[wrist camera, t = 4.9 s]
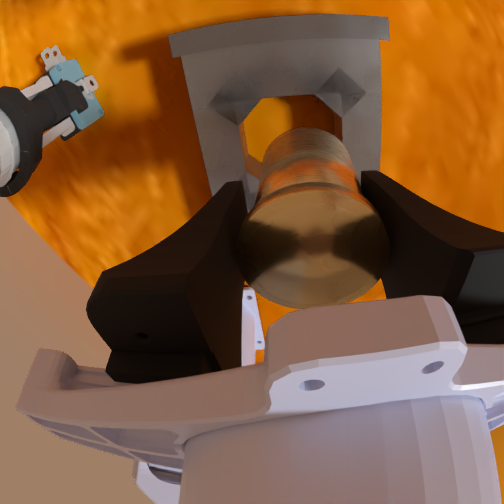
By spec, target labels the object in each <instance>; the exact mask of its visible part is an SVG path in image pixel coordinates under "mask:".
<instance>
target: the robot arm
mask: <svg viewBox="0 0 504 504" xmlns="http://www.w3.org/2000/svg"><path fill="white" fill-rule="evenodd" d="M361 188H362V191H363V194H364V197H365V198H366V199H367V200H368V201H369V202H370V203H371V204H372V205H373V206H374V207H375V209H376V210H377V211H378V213H379V215H380V217H381V218H382V221H383V224H384V226H385V229H386V232H387V235H388V238H389V244H390V256H389V261H388V264H387V267H386V269H385V271H384V273H383V275H382V276H381V279H382V283H383V286H384V289H385V294H386V298H387V299H385V300H376V301H367V302H358V303H348V304H338V305H327V306H316V307H310V308H306V309H302V310H298V311H294V312H290V313H288V314H286V315H284V316H283V317H282V318H280V319H279V320H278V321H276V322H275V323H273V324H272V325H271V326H269V328H268V331H267V335H266V338H265V341H264V336H263V331H262V326H261V321H260V316H259V311H258V306H257V301H256V296H255V291H254V289H252V288H251V287H244V282H245V279H244V278H243V276H242V274H241V272H240V270H239V267H238V264H237V259H236V249H237V242H238V238H239V233H240V230H241V226H242V223H243V221H244V219H245V217H246V216H247V214H248V210H247V204H246V199H245V193H244V187H243V182H242V180H239V181H231V182H226V183H225V184H224V185H223V186H222V187H221V188H220V189H219V190H218V192H217V193H216V194H215V195H214V196H213V197H212V198H211V199H210V200H209V201H208V202H207V203H206V205H205V206H204V207H203V208H202V209H200V210H199V211H198V212H197V213H196V214H195V215H194V216H193V217H192V218H191V219H190V220H189V221H188V222H187V223H185V224H184V225H183V226H182V227H181V228H179V229H178V230H177V231H175V232H174V233H173V234H171V235H170V236H169V237H167V238H166V239H164V240H163V241H161V242H160V243H158V244H157V245H155V246H154V247H152V248H150V249H148V250H147V251H145V252H143V253H141V254H140V255H138V256H136V257H134V258H132V259H130V260H128V261H126V262H124V263H121V264H119V265H117V266H114V267H112V268H110V269H108V270H105V271H103V272H102V273H101V275H100V277H99V279H98V281H97V283H96V285H95V287H94V289H93V292H92V294H91V296H90V298H89V300H88V302H87V308H86V311H87V316H88V318H89V320H90V322H91V324H92V325H93V327H94V328H95V329H96V331H97V332H98V333H99V335H100V336H101V337H102V338H103V340H104V341H105V342H106V344H107V345H108V346H109V347H110V349H111V350H112V352H111V354H110V357H109V361H108V363H107V366H106V369H104V368H95V367H86V366H78V365H77V364H76V363H75V361H74V360H73V359H72V358H71V357H70V356H69V355H68V354H66V353H64V352H61V351H57V350H50V349H42V348H40V349H38V351H37V353H36V356H35V358H34V361H33V363H32V365H31V368H30V370H29V373H28V375H27V378H26V380H25V383H24V385H23V388H22V391H21V394H20V396H19V399H18V402H17V405H16V409H17V410H18V411H19V412H21V413H22V414H24V415H25V416H26V417H28V418H29V419H31V420H32V421H34V422H35V423H37V424H38V425H40V426H41V427H43V428H44V429H46V430H47V431H49V432H51V433H52V434H54V435H55V436H57V437H59V438H61V439H64V440H67V441H70V442H74V443H77V444H81V445H83V446H87V447H90V448H93V449H97V450H100V451H103V452H107V453H111V454H114V455H118V456H121V457H126V458H129V459H133V460H134V465H133V471H132V476H133V477H134V478H135V484H136V486H137V487H138V488H139V489H140V490H141V491H142V492H143V493H144V494H145V495H146V496H147V497H149V498H150V499H151V500H152V501H153V502H154V503H155V504H502V503H501V493H500V485H499V478H498V472H497V466H496V460H495V455H494V449H493V445H492V440H491V435H490V431H491V430H493V429H495V428H497V427H499V426H501V425H503V424H504V232H500V231H496V230H493V229H490V228H487V227H484V226H481V225H478V224H475V223H473V222H470V221H468V220H465V219H463V218H460V217H458V216H456V215H453V214H451V213H449V212H447V211H445V210H443V209H441V208H439V207H437V206H435V205H433V204H432V203H430V202H428V201H426V200H425V199H423V198H421V197H419V196H418V195H416V194H414V193H413V192H411V191H410V190H408V189H406V188H405V187H403V186H402V185H400V184H399V183H397V182H396V181H394V180H392V179H391V178H389V177H388V176H386V175H384V174H383V173H381V172H379V171H377V170H368V171H361ZM264 348H265V354H264V362H261V363H256V364H255V353H256V350H262V349H264ZM180 473H181V474H180Z"/></svg>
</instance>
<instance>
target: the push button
mask: <svg viewBox="0 0 504 504" xmlns="http://www.w3.org/2000/svg"><path fill="white" fill-rule="evenodd" d="M54 51H56V52H57V55H56V56H53V52H54ZM46 53H48V54H49V58H48V59H46V58H45V55H46ZM41 57H42V59H43V61H44V63H45V65H46V67H45V69H46V71H47V72H46V73H45V74H44V75H43V76H42V77H40V78H39V79H38V80H37V81H36V82H35V83H34V85H32V86H30V87H27V88H25V89H23V90H21V91H20V90H19V89H18V88H13V87H7V86H3V87H1V88H0V197H8V196H12V195H14V194H16V193H17V192H19V191H20V190H21V189H22V188H23V187H24V186H25V185H26V183H27V182H28V180H29V179H30V176H31V174H32V173H33V172H34V171H35V169H36V167H37V166H38V164H39V162H40V161H41V159H42V149H43V148H44V147H45V146H46V145H48V144H49V143H50V142H52V141H53V140H54V139H56V138H57V137H58V136H61V138H62V139H63V140H64V141H66V140H68V139H69V138H71V137H72V136H74V135H75V134H77V133H78V132H80V131H81V130H83V129H85V128H86V127H88V126H89V125H91V124H92V123H93V122H95V121H96V120H98V119H99V118H101V117H102V116H103V115H104V111H103V109H102V107H101V106H100V104H99V102H98V100H97V98H96V97H95V95H94V93H93V91H94V90H96V89H98V84H97V82H96V80H95V78H94V76H92V75H90V76H87V77H85V75H84V73H83V71H82V69H81V67H80V65H79V63H78V62H77V60H75V59H72V60H68V61H67V60H66V58H65V56H63V57H62V55H61V53H60V50H59V48H58V46H57V45H55V46H54V47H53V48H52V49H50V48H49V47H47V48H46V49H45V50H44V51H43V52H41ZM90 80H91V81H92V82H93V84H94V86H92V85H91V84H90ZM33 98H34V99H33ZM31 99H33V100H32V101H29V100H31ZM53 126H55V127H53ZM51 127H53V128H52V129H50V128H51ZM47 129H50V130H49V131H47V132H46V133H45V134H43V132H44V131H46V130H47ZM18 168H19V171H16V170H17V169H18Z"/></svg>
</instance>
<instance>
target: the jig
mask: <svg viewBox="0 0 504 504" xmlns="http://www.w3.org/2000/svg"><path fill="white" fill-rule="evenodd" d="M168 38H169V43H170V48H171V53H172V57H173V58H175V57H180V56H181V60H182V64H183V69H184V74H185V78H186V83H187V88H188V92H189V97H190V102H191V106H192V111H193V115H194V120H195V124H196V129H197V133H198V138H199V142H200V146H201V151H202V155H203V159H204V164H205V168H206V172H207V176H208V181H209V185H210V189H211V193H212V197H213V196H214V195H215V194H216V193H217V192H218V190H219V189H220V188H221V187H222V186H223V185H224V184H225V183H226V182H231V181H239V180H242V182H243V187H244V193H245V199H246V204H247V210H248V213H249V211H250V210H251V209H252V208H253V207H254V206H255V202H256V196H257V191H258V185H259V180H260V174H261V169H262V163H261V162H259V161H258V160H256V159H255V158H253V157H252V156H250V155H249V154H248V150H247V144H246V137H245V131H244V125H243V121H244V119H245V118H246V117H247V116H248V114H249V113H250V112H251V111H252V110H253V108H254V107H255V106H256V105H257V103H258V102H259V101H260V100H261V99H262V98H270V97H281V96H293V95H307V94H314V95H316V96H317V97H318V98H319V99H320V100H322V101H323V102H324V103H325V104H326V105H328V106H329V107H330V108H331V109H332V110H333V118H334V136H335V137H336V138H338V139H339V140H340V141H341V142H342V144H343V145H344V146H345V148H346V149H347V151H348V154H349V156H350V159H351V161H352V164H353V167H354V169H355V172H356V175H357V177H358V180H359V183H360V186H361V171H368V170H377V171H379V170H380V152H381V117H382V93H381V59H380V41H379V40H389V41H390V35H389V22H388V17H379V16H366V15H340V14H317V15H292V16H278V17H267V18H257V19H249V20H242V21H235V22H228V23H222V24H217V25H211V26H206V27H201V28H196V29H192V30H187V31H183V32H179V33H175V34H171V35H168Z"/></svg>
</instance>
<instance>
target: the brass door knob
mask: <svg viewBox="0 0 504 504" xmlns="http://www.w3.org/2000/svg"><path fill="white" fill-rule="evenodd" d="M389 256H390V244H389V238H388V235H387V232H386V229H385V226H384V224H383V221H382V218H381V217H380V215H379V213H378V211H377V210H376V209H375V207H374V206H373V205H372V204H371V203H370V202H369V201H368V200H367V199H366V198H365V197H364V194H363V191H362V188H361V186H360V183H359V180H358V177H357V175H356V172H355V169H354V167H353V164H352V161H351V159H350V156H349V154H348V151H347V149H346V148H345V146H344V145H343V144H342V142H341V141H340V140H339V139H338V138H336V137H335V136H334V135H332V134H331V133H329V132H327V131H324V130H322V129H318V128H312V127H301V128H295V129H292V130H289V131H287V132H284V133H283V134H281V135H279V136H278V137H277V138H276V139H274V141H273V142H272V143H271V144H270V145H269V147H268V148H267V150H266V152H265V155H264V158H263V163H262V169H261V174H260V180H259V185H258V191H257V196H256V202H255V206H254V207H253V208H252V209H251V210H250V211H249V213H248V214H247V216H246V217H245V219H244V221H243V223H242V226H241V230H240V233H239V238H238V242H237V249H236V259H237V264H238V267H239V270H240V272H241V274H242V276H243V278H244V279H245V281H246V282H247V283H248V284H249V286H250V287H251V288H252V289H254V290H255V291H256V292H257V293H258V294H260V295H261V296H263V297H264V298H266V299H268V300H270V301H272V302H274V303H277V304H280V305H283V306H286V307H291V308H297V309H306V308H310V307H316V306H327V305H338V304H345V303H348V302H350V301H353V300H354V299H356V298H358V297H360V296H362V295H363V294H365V293H366V292H367V291H368V290H370V289H371V288H372V287H373V286H374V285H375V284H376V283H377V282H378V280H379V279H380V278H381V276H382V275H383V273H384V271H385V269H386V267H387V264H388V261H389Z"/></svg>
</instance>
